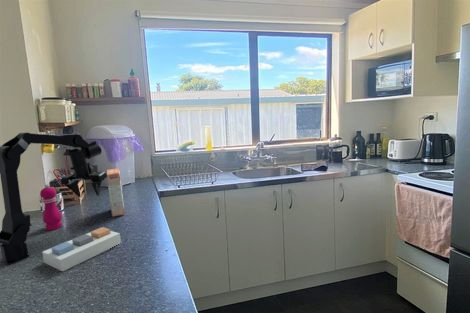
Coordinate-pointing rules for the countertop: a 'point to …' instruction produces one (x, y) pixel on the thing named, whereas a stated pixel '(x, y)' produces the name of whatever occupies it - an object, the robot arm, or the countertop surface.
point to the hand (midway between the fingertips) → (89, 195)
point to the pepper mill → (50, 208)
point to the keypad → (81, 251)
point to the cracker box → (115, 192)
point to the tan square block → (100, 232)
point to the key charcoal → (82, 240)
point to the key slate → (62, 248)
